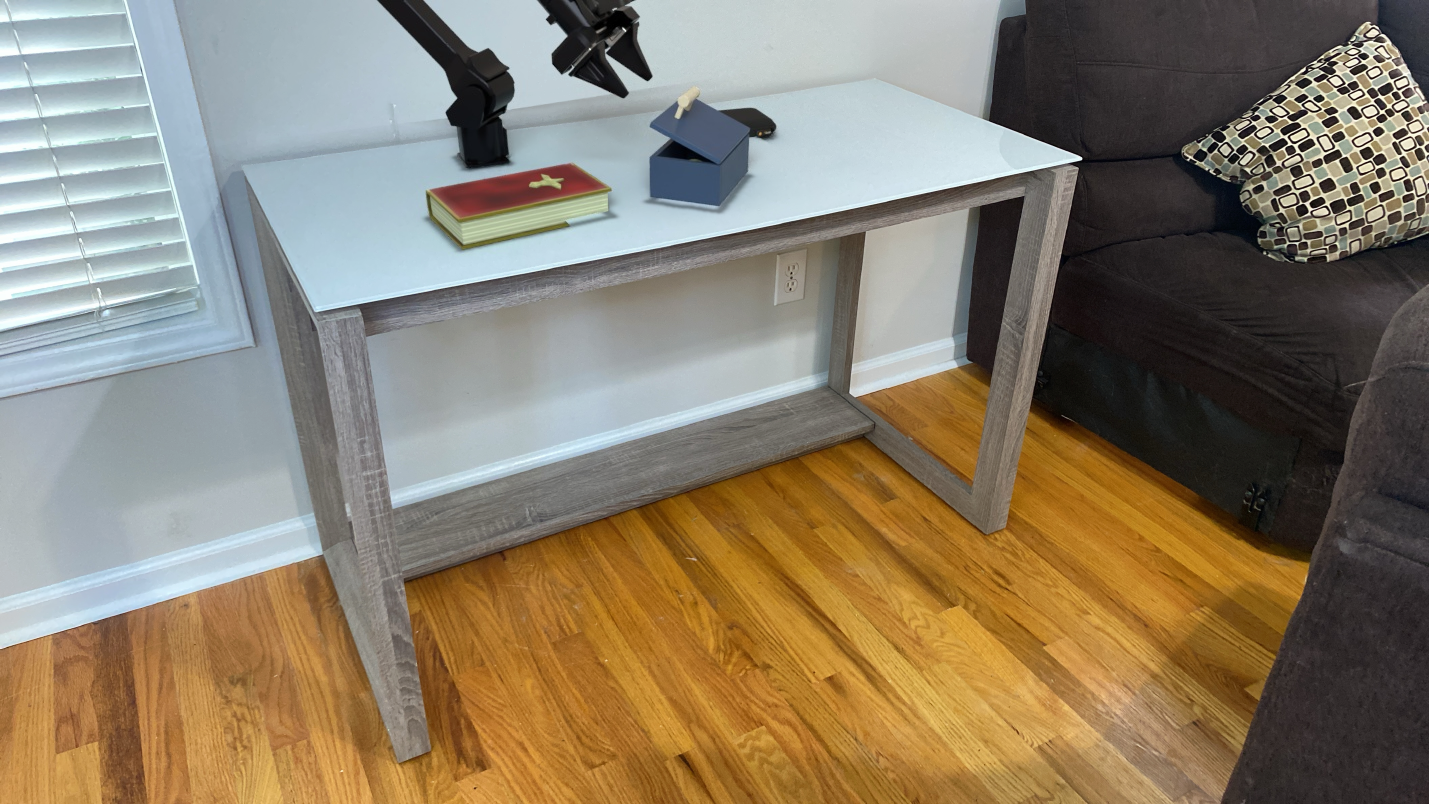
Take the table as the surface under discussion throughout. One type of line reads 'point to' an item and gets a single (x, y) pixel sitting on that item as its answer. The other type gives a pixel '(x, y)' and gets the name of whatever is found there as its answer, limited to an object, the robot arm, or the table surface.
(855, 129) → the table surface
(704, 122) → the lunchbox lid
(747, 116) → the carrying case
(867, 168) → the table surface
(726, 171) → the box
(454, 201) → the hardcover book
